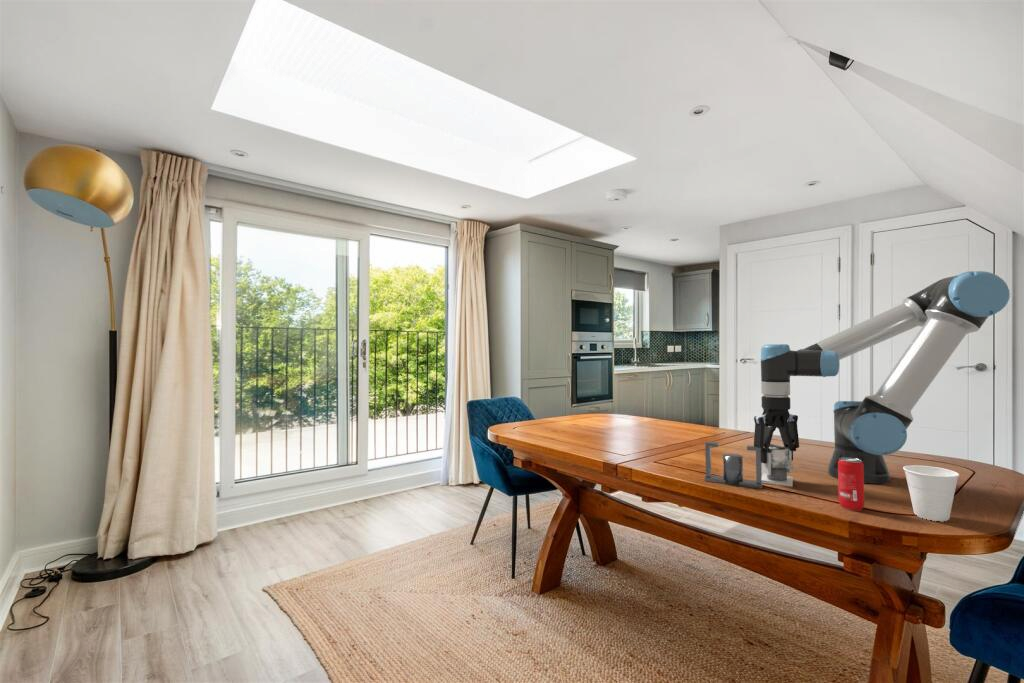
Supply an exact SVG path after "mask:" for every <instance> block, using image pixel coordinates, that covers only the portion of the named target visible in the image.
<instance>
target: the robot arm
mask: <svg viewBox="0 0 1024 683" xmlns="http://www.w3.org/2000/svg"><path fill="white" fill-rule="evenodd" d="M1010 295H1011V292H1010V288H1009V286H1008V285H1007V283H1006V281H1005V279H1003V278H1002V277H1000V276H999V275H997V274H995V273H992V272H989V271H985V270H975V271H965V272H962V273H959V274H956V275H954V276H949V277H945V278H942V279H939V280H937V281H935V282H933V283H931V284H929V285H928V286H927V287H924V289H921V290H920V291H918V292H916V293H913V294H912V295H909V296H907V297H905V298H904V299H903V301H902V303H901V304H899V305H897V306H893V307H892V308H890V309H888V310H885V311H883V312H881V313H879V314H877V315H875V316H873V317H870V318H868V319H865V320H864V321H861V322H859V323H857V324H854V325H853V326H850V327H849V328H846V329H844V330H842V331H840V332H837V333H835V334H833V335H831V336H829V337H826V338H824V339H823V340H820V341H818V342H815V343H814V344H811V345H809V346H807V347H805V348H800V349H798V350H791V348H790V345H789V344H787V343H785V344H782V343H780V344H778V343H776V344H774V343H771V344H767V343H766V344H764V345H762V346H761V348H760V377H761V378H760V379H761V380H760V381H761V383H760V384H761V385H760V386H761V394H762V396H761V408H762V410H763V411H762V415H759V416H758V415H756V416H754V417H753V421H754V436H753V437H754V438H753V446H760V447H761V473H762V474H767V475H771V453H769V452H768V450H769V446H770V444H772V439H773V435H774V432H775V431H776V429H778V432H779V434H780V436H781V442H782V443H783V446H784V447H788V448H789V449H790V464H792V465H793V461H794V452H796V451H797V449H799V448H800V440H799V432H798V431H799V430H798V421H799V420H798V419H799V416H798V415H797V414H792V413H790V412H789V410H790V409H791V397H790V395H791V377H823V378H826V377H836V376H837V375H838V374H839V372H840V361H841V360H842V359H845V358H847V357H851V356H852V355H855V354H857V353H859V352H861V351H864V350H866V349H868V348H870V347H872V346H875V345H878V344H879V343H881V342H885V341H887V340H888V339H891V338H894V337H896V336H898V335H900V334H904V333H905V332H907V331H910V330H913V329H914V328H916V327H921V328H920V330H919V331H918V332H917V334H916V335H915V337H914V338H913V340H912V341H911V343H910V344H909V346H907V348H906V349H905V351H904V352H903V354H902V356H900V358H899V359H898V361H897V363H896V364H895V365H894V367H893V369H892V370H891V371H890V372H889V374H888V375H887V377H886V378H885V379H884V381H883V382H882V384H881V385H880V386H879V388H878V390H877V391H876V392H875V394H871V395H867V396H864V398H863V400H861V401H860V400H859V401H858V400H857V401H856V400H855V401H854V400H853V401H852V400H848V401H847V400H846V401H845V400H838V401H835V403H834V406H833V426H834V427H833V429H834V432H833V434H834V450H833V453H832V455H831V458H830V460H829V463H828V466H827V467H828V468H827V469H828V470H827V471H828V475H829V476H832V477H834V478H836V479H838V461H839V458H841V457H849V458H856V459H860V460H862V463H863V465H864V484H886V483H889V482H891V474H890V471H889V467H888V465H887V463H886V461H885V458H884V456H885V455H886V456H887V455H892V454H894V453H896V452H898V451H900V450H901V449H902V448H903V447H904V445H905V444H906V442H907V439H908V438H907V437H908V433H907V429H908V428H909V427H910V425H911V424H912V423H913V421H914V417H913V414H912V410H913V409H914V407H915V406H916V405H917V403H918V402H919V401H920V399H921V398H922V396H923V395H924V394H925V392H926V391H927V390H928V388H929V387H930V386H931V384H932V382H933V381H934V380H935V379H936V377H937V376H938V374H939V372H940V371H941V370H942V369H943V367H944V366H945V365H946V363H947V362H948V360H949V359H950V357H951V356H952V355H953V353H954V352H955V350H957V348H958V347H959V345H960V344H961V342H962V341H963V339H964V338H965V337H966V335H968V334H970V333H975V332H978V331H980V328H982V326H983V325H984V323H985V322H986V320H987V319H988V318H989V317H991V316H994V315H995V314H997V313H999V312H1000V311H1002V310H1003V309H1004V308H1005V307H1006V306H1007V304H1008V303H1009V301H1010V297H1011V296H1010ZM787 474H793V469H787Z"/></svg>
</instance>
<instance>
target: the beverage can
mask: <svg viewBox="0 0 1024 683" xmlns="http://www.w3.org/2000/svg"><path fill="white" fill-rule="evenodd" d="M837 480H838V481H837V484H838V487H837V488H838V489H837V490H838V503H839V505H840V507H841V508H843V509H845V510H849V511H855V512H859V511H862V510H863V508H864V507H865V483H864V465H863V463H862V460H860V459H856V458H849V457H841V458H839V461H838V478H837Z"/></svg>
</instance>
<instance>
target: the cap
mask: <svg viewBox="0 0 1024 683" xmlns="http://www.w3.org/2000/svg"><path fill="white" fill-rule="evenodd" d="M768 452H769V453H771V466H772V467H784V468H787V469H792V470H793V468H794V465H793V463H792V464H790V449H789V448H788V447H784V445H778V444H773V443H770V446H769V450H768Z"/></svg>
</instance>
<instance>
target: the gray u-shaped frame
mask: <svg viewBox="0 0 1024 683" xmlns="http://www.w3.org/2000/svg"><path fill="white" fill-rule="evenodd" d="M704 445H705V447H704V448H705V450H704V451H705V476H704V481H705V482H712V483H717V484H718V483H719V484H725V485H728V486H736V487H737V486H741V487H748V488H758V489H763V485H764V483H763V482H762V474H763V473H762V463H761V447H760V446H754V445H747V446H746V450H747V451H752V452H753V451H754V452H755V471H756V472H755V473H756V474H755V475H756V477H755V480H753V479H745V478H744V472H743V471H744V467H743V466H744V462H743V458H744V457H743V455H741V454H737V453H725V454H722V459H723V460H722V464H723V469H722V471H723V472H722V473H723V476H722V475H713V474H712V448H718V447H719V446H720V444H719V442H714V441H705V444H704Z"/></svg>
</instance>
